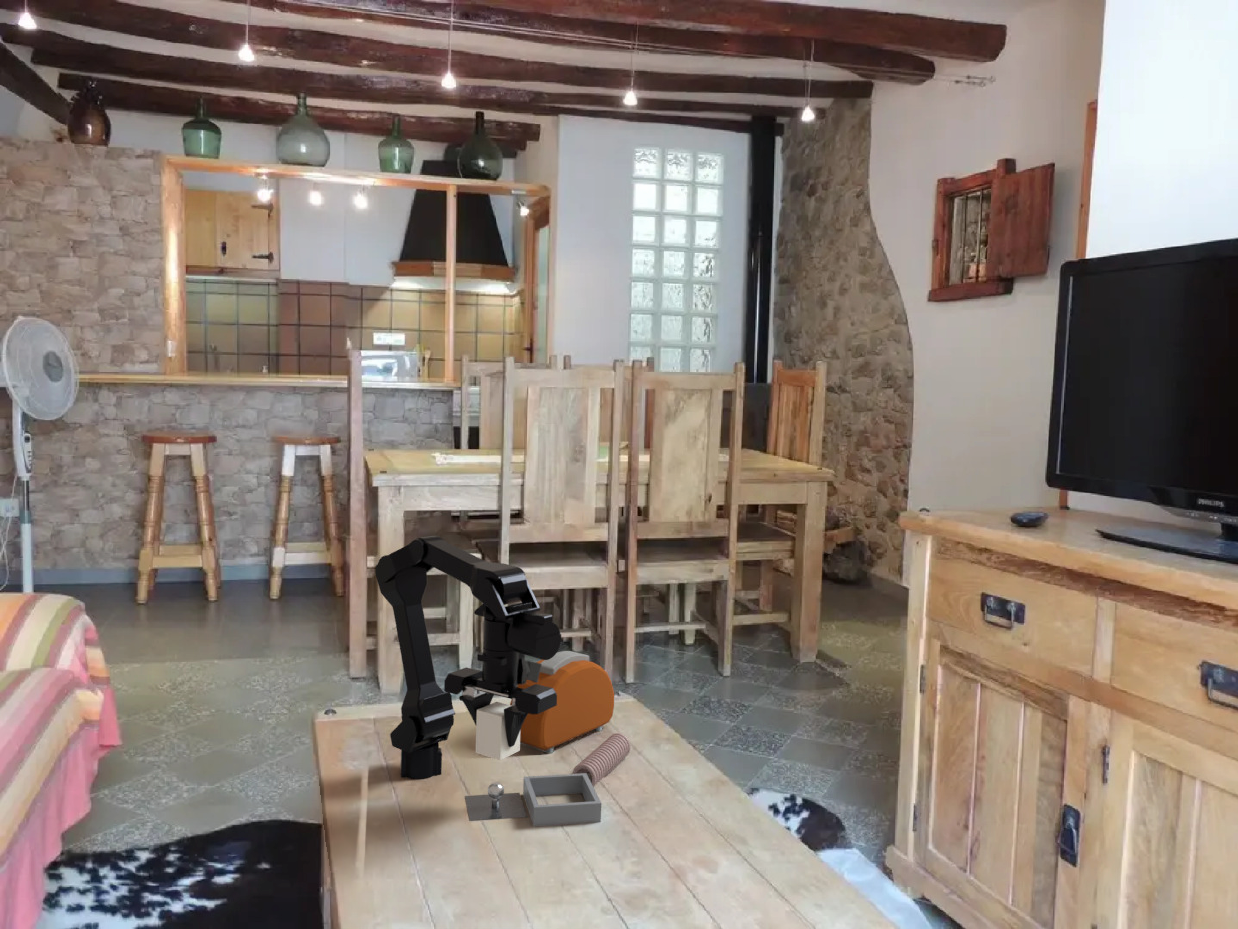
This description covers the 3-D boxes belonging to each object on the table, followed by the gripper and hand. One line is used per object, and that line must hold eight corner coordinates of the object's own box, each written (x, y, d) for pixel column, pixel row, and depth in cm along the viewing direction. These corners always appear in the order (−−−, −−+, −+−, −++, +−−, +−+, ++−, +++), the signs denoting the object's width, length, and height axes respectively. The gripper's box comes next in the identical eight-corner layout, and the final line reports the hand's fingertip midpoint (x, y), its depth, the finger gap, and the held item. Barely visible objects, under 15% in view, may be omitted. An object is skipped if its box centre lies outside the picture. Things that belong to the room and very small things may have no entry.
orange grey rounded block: (580, 716, 198) (583, 638, 197) (614, 726, 193) (618, 646, 192) (503, 748, 179) (507, 661, 178) (540, 760, 174) (543, 671, 173)
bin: (533, 832, 146) (534, 807, 146) (522, 800, 157) (523, 776, 157) (600, 828, 149) (601, 803, 148) (585, 796, 160) (586, 773, 159)
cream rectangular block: (500, 760, 148) (501, 716, 147) (475, 752, 151) (476, 710, 150) (519, 750, 152) (521, 708, 152) (495, 743, 155) (496, 701, 154)
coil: (596, 770, 161) (634, 735, 177) (571, 762, 162) (611, 728, 179) (592, 796, 161) (630, 759, 178) (568, 788, 163) (608, 752, 180)
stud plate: (469, 827, 147) (470, 796, 146) (464, 802, 156) (465, 773, 155) (527, 823, 149) (528, 793, 149) (519, 798, 158) (520, 770, 157)
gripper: (578, 646, 152) (574, 740, 153) (487, 627, 162) (484, 716, 163) (537, 661, 143) (533, 762, 144) (443, 640, 152) (440, 735, 153)
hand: (498, 742), depth 151 cm, fingers closed on cream rectangular block, 5 cm apart
